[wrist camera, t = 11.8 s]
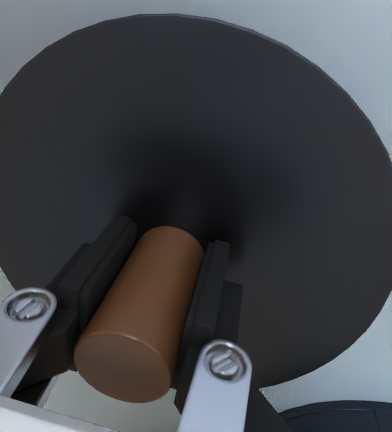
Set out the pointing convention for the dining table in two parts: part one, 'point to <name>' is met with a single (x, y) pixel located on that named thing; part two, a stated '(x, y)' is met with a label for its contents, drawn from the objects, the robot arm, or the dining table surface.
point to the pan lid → (196, 193)
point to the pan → (340, 417)
